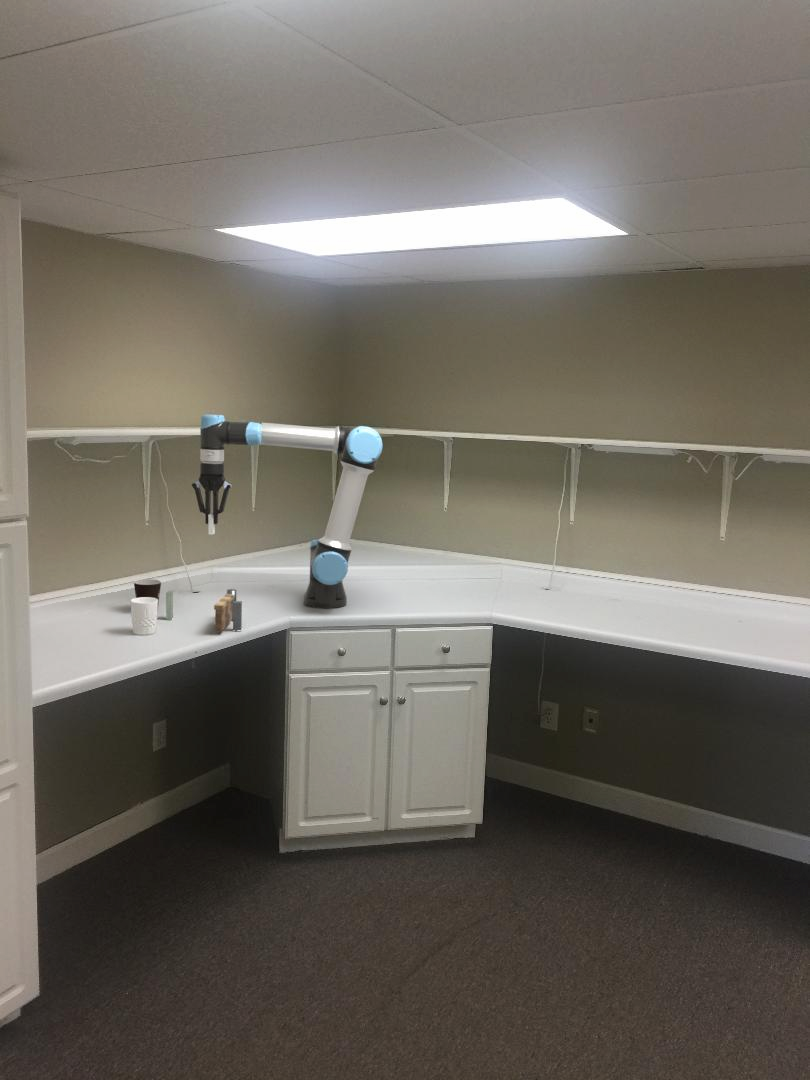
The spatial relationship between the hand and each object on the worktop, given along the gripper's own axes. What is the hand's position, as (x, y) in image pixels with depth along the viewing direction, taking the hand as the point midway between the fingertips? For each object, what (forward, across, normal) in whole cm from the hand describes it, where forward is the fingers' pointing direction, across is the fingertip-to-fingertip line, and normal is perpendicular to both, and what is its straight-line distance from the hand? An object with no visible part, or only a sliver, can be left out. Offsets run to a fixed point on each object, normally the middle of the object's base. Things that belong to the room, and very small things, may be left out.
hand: (211, 533), depth 285 cm
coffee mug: (+27, -20, -2) cm, 33 cm away
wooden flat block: (+25, +9, -20) cm, 34 cm away
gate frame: (+26, +1, -16) cm, 31 cm away
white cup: (+27, -14, -28) cm, 41 cm away
